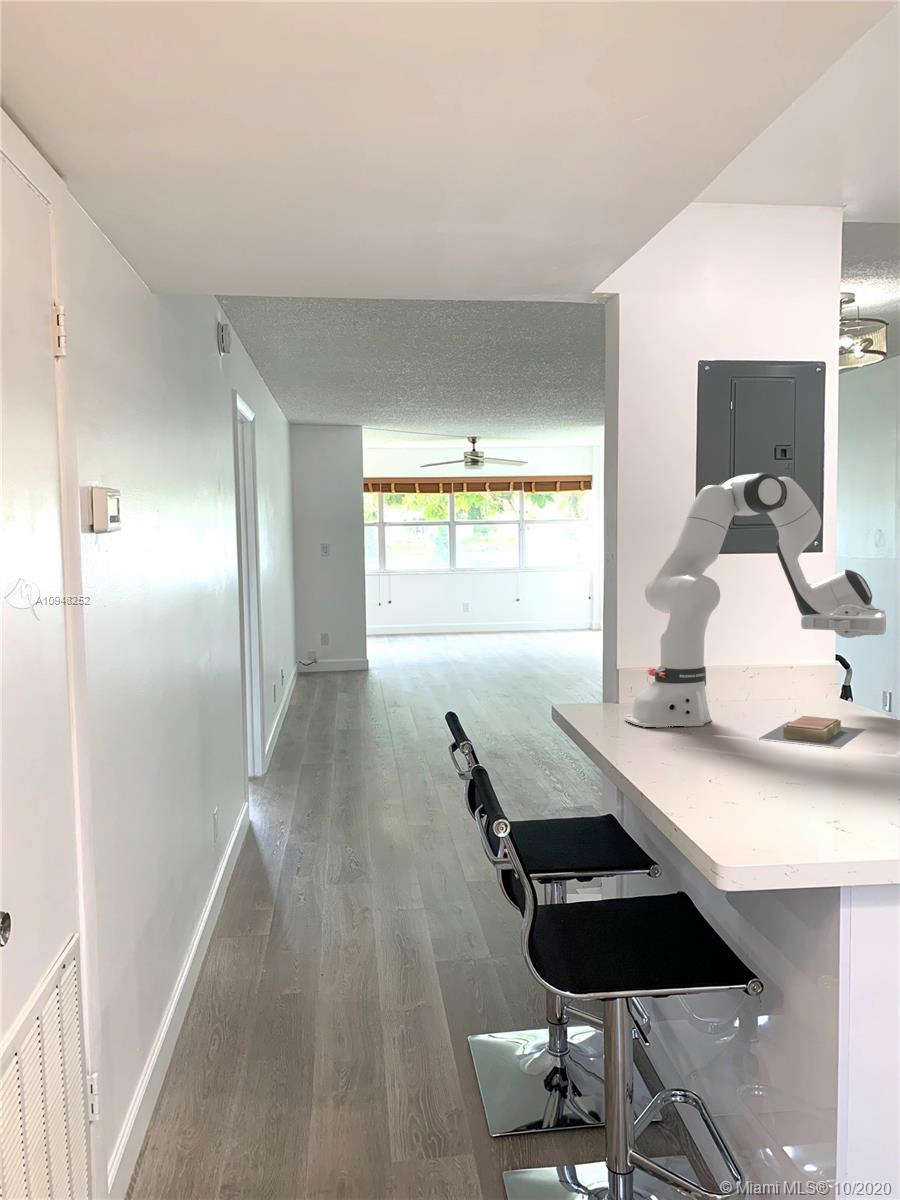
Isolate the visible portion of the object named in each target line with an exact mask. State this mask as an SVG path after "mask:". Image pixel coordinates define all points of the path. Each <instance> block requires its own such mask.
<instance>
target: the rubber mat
mask: <svg viewBox="0 0 900 1200" xmlns="http://www.w3.org/2000/svg"><path fill="white" fill-rule="evenodd" d="M791 722H792V721H787V722H785V723H783V724H781V725H779V726H778V727H776V728H775V729H773V730H771V731H769V732H767V733H765V734H764V735H762V736H760V737H759V738H758V740H759V741H762V740H765V741H768V742H771V741H773V742H775V743H779V742H782V743H784V744H785V743H786V744H788V743H791V744H793V745H797V744H800V745H802V746H806V745H808V746H810V747H811V746H812V747H814V746H817V747H818V748H819V747H820V748H823V747H826V748H827V749H828V748H829V749H832V748H835V749H837V750H841V748H842V747H844V746H846V745H847V744H848V743H849V742H850V741H852V740H853V739H855V738H856V737H857V736H859V735H860V734H861V733H863V732H864V731H865V730H866V728H858V727H850V726H841V731H839V732H838V733H836V734H835V735H833V736H832V737H830V738H829V739H827V740H826V741H825V742H821V741H812V740H803V739H794V738H785V737H783V727H784V726H786V725H787V724H789V723H791Z"/></svg>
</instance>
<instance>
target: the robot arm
mask: <svg viewBox="0 0 900 1200" xmlns="http://www.w3.org/2000/svg"><path fill="white" fill-rule="evenodd" d="M760 514H767V515H768V516H769V518H770V519H771V521H772V523H773V525H774V527H776V530H777V532H778V539H777V541H776V543H775V547H776V548H775V549H776V554H777V558H778V560H779V563H780V565H781V567H782V568H781V569H783V572H784V574H785V577H786V580H787V582H788V584H789V586H790V588H791V590H792V594H793V597H794V600H795V602H796V606H797V609H798V611H799V612H800V614H801V618H800V626H801V629H803V630H811V631H812V630H817V631H833V632H835V634H836V635H838V636H839V637H842V638H846V639H852V638H856V637H857V638H858V637H864V636H874V635H875V636H876V635H877V636H879V635H880V636H881V635H885V633H886V632H887V615H886V611H885V610H884V609H879V608H876V607H875V606H874V605H873V604H872V600H873V593H872V590H871V588H870V586H869V584H868V583H867V581H866V579H865V578H864V577H863V575H861V574H859V573H858V572H856V571H853V570H851V569H844V570H842V571H839V572H837V573H834V574H832V575H830V576H829V577H825V578H824V579H821V580H820V581H817V582H814V583H808V582H807V580H806V577H805V575H804V573H803V569H802V567H801V565H800V563H799V559H798V558H800V557H799V556H800V555H801V554H802V553H803V552H804V550H805V549H807V547H808V546H810V545H811V544H812V543H813V541H815V539H816V538H817V536H818V534H819V533H820V529H821V527H822V518H821V515H820V514H819V512H818V509H817V507H816V506H815V505H814V503H813V502H812V500H811V499H810V498H809V496H808V494H807V493H806V492H805V491H804V489H802V487H801V486H800V485H799V484H798V483H797V482H796V481H795V480H794V479H793V478H791V477H789V476H776V475H774V474H771V473H768V472H756V473H749V474H748V473H746V474H745V473H744V474H740V475H737V476H734V477H729V478H726V479H725V480H723V481H722V482H720V483H719V484H718V485H717V484H709V485H706V486H703V488H701V489H700V491H699V492H698V493H697V495H696V497H695V499H694V500H693V503H692V504H691V506H690V508H689V510H688V512H687V515H686V518H685V520H684V523H683V526H682V529H681V531H680V534H679V536H678V539H677V542H676V544H675V546H674V548H673V550H672V551H671V553H670V554H669V555H668V558H667V559H666V560H665V561H664V564H663V565H662V567H661V568H660V569H659V571H657V573H656V574H655V575H654V576H653V577H651V578H650V579H649V580H648V582H647V583H646V585H645V589H644V596H645V599H646V602H647V603H648V604H649V605H650V607H652V608H654V609H655V610H657V611H660V612H662V613H665V614H666V613H667V614H669V619H668V624H667V626H666V629H665V631H664V632H662V634H661V636H660V665H659V667H658V668H657V669H656V668H654V667H649V668H648V669H647V671H646V672H647V675H649V676H652V677H654V681H653V682H652V683H650V684H649V685H648V686H647V687H646V688H644V689H643V690H642V691H641V692H639V693H638V694H637V695H636V696H635V697H634V700H633V704H632V713H628V714H625V715H624V716H623V718H625V719H626V720H627V721H629V722H631V723H633V724H636V725H639V726H644V727H643V728H645V727H656V728H674V727H673V726H684V727H702V726H705V724H707V723H709V722H711V721H712V717H711V713H710V710H709V707H708V702H707V701H708V700H707V693H706V692H707V691H706V685H707V669H706V668H707V667H706V666H705V637H706V636H705V635H706V631H707V630H706V629H707V626H708V623H709V620H710V617H711V614H712V613H713V612H714V610H716V608H717V607H718V605H719V604H720V601H721V589H720V587H719V584H718V583H717V581H716V580H714V579H713V578H710V577H709V576H706V575H704V572H705V571H706V570H707V569H708V568H709V567H710V566H711V565H712V564H714V563H715V562H716V560H717V559H718V558H719V554H720V552H721V548H722V546H723V543H724V541H725V539H726V536H727V532H728V530H729V527H730V523H731V521H732V519H733V518H734V517H739V516H740V517H743V516H745V517H751V516H756V515H760ZM639 726H638V727H639ZM668 726H669V727H668ZM670 726H672V727H670Z"/></svg>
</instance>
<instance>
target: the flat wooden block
mask: <svg viewBox="0 0 900 1200" xmlns="http://www.w3.org/2000/svg"><path fill="white" fill-rule="evenodd" d="M790 722H791V723H789V724H787V725H786V726H784V727H783V737H785V738H794V739H803V740H812V741H821V742H825V741H826V740H827V739H829V738H830V737H832V736H833V735H835V734H836V733H838V732H839V731H841V727H842V724H841V723H842V722H841V720H840V719H838V718H829V717H820V716H819V717H818V716H808V715H802V716H801V717H798V718H797V719H795V720H793V721H790Z"/></svg>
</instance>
